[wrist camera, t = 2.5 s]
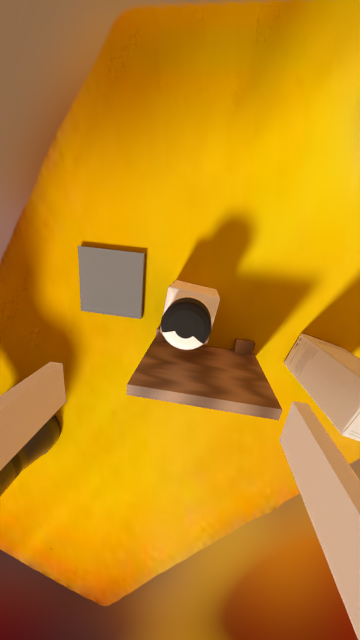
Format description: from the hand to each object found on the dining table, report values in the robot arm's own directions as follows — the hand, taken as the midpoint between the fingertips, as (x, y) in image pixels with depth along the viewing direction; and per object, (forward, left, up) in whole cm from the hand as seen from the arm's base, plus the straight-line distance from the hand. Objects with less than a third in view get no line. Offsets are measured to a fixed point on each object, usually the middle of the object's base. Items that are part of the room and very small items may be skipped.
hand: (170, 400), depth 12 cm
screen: (+3, -8, -24) cm, 26 cm away
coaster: (-14, +2, -24) cm, 28 cm away
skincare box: (+22, -6, -25) cm, 33 cm away
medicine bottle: (0, 0, -25) cm, 25 cm away
